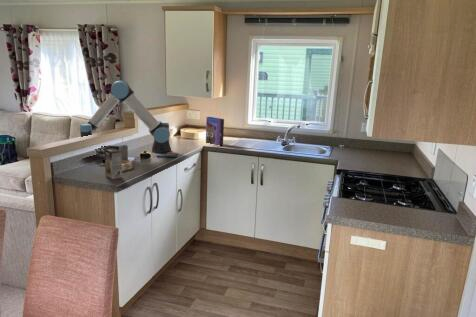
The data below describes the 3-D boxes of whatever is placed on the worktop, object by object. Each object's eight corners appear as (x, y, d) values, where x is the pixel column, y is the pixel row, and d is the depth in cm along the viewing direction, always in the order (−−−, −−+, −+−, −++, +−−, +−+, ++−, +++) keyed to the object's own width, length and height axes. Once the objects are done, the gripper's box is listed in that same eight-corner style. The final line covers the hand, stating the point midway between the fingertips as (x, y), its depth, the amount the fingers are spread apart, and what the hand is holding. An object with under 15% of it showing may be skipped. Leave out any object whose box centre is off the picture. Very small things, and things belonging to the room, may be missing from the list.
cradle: (120, 165, 228) (120, 159, 227) (132, 167, 224) (132, 161, 223) (107, 169, 218) (107, 163, 217) (120, 171, 214) (120, 165, 213)
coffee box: (105, 175, 205) (103, 149, 201) (115, 173, 210) (114, 147, 206) (111, 179, 199) (110, 152, 195) (122, 177, 204) (121, 150, 200)
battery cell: (123, 161, 238) (123, 143, 235) (129, 162, 236) (129, 144, 232) (117, 163, 233) (117, 144, 230) (124, 164, 231) (123, 145, 228)
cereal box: (205, 143, 314) (206, 116, 308) (209, 142, 317) (210, 116, 311) (219, 146, 302) (220, 119, 297) (223, 145, 306) (224, 118, 300)
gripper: (110, 149, 254) (132, 153, 245) (82, 156, 232) (105, 160, 224) (110, 139, 252) (132, 143, 244) (81, 145, 231) (104, 149, 222)
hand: (119, 151), depth 233 cm, fingers open, 13 cm apart
